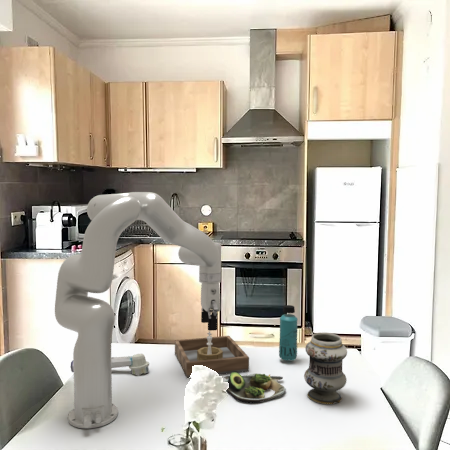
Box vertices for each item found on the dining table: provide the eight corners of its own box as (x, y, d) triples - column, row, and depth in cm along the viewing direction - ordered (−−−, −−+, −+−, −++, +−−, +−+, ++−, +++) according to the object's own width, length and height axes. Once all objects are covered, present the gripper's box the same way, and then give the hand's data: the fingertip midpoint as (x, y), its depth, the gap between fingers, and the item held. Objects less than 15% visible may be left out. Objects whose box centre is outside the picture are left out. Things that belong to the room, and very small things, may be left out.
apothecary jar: (325, 410, 119) (326, 346, 118) (295, 393, 129) (296, 334, 128) (354, 399, 126) (356, 338, 124) (324, 384, 136) (325, 327, 134)
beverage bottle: (277, 363, 152) (278, 307, 151) (280, 356, 159) (281, 303, 157) (295, 365, 150) (296, 309, 149) (298, 359, 157) (299, 304, 155)
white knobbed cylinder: (75, 357, 147) (148, 348, 146) (78, 376, 148) (151, 367, 146) (68, 363, 142) (144, 354, 141) (72, 383, 142) (147, 374, 141)
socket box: (248, 371, 145) (248, 357, 145) (186, 378, 139) (186, 363, 139) (228, 348, 167) (229, 335, 167) (174, 353, 161) (174, 340, 161)
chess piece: (209, 355, 156) (209, 328, 156) (219, 359, 153) (219, 331, 153) (199, 359, 153) (199, 331, 152) (209, 363, 150) (210, 334, 149)
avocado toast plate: (269, 373, 145) (269, 359, 145) (300, 395, 129) (300, 380, 128) (216, 383, 137) (216, 369, 136) (242, 408, 121) (242, 392, 120)
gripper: (227, 281, 144) (226, 332, 145) (214, 273, 160) (213, 319, 161) (205, 282, 142) (204, 334, 142) (194, 273, 158) (193, 320, 159)
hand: (208, 326), depth 152 cm, fingers open, 9 cm apart
